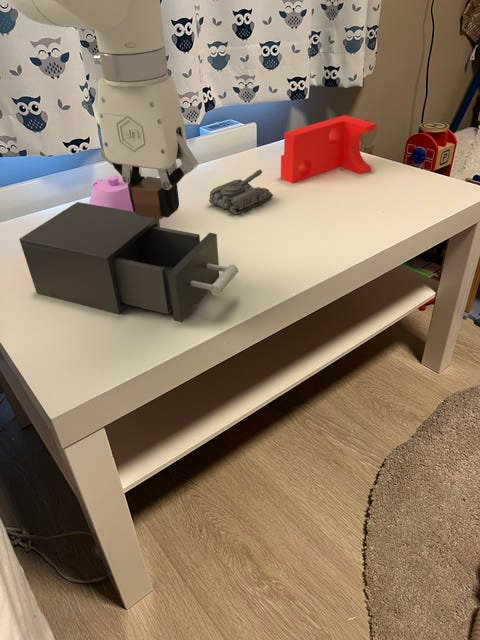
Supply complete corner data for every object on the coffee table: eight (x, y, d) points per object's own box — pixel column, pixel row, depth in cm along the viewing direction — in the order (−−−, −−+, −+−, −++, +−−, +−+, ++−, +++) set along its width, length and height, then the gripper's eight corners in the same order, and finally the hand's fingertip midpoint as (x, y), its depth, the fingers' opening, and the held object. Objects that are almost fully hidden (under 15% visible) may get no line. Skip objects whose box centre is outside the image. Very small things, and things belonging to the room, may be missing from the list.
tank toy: (245, 187, 113) (245, 163, 110) (278, 199, 107) (278, 175, 104) (203, 205, 106) (201, 180, 103) (235, 218, 101) (234, 193, 98)
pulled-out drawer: (247, 284, 81) (246, 239, 76) (212, 330, 72) (208, 282, 67) (141, 261, 87) (134, 218, 83) (96, 301, 78) (85, 255, 74)
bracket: (341, 114, 118) (376, 123, 112) (338, 158, 125) (370, 170, 118) (281, 131, 110) (314, 143, 103) (280, 178, 116) (312, 192, 110)
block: (161, 219, 70) (157, 191, 68) (135, 215, 71) (131, 187, 69) (175, 207, 73) (172, 179, 70) (151, 203, 74) (147, 176, 72)
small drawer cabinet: (166, 269, 87) (158, 216, 81) (119, 314, 77) (107, 257, 71) (89, 252, 92) (77, 201, 86) (36, 293, 82) (18, 238, 76)
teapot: (120, 205, 107) (112, 161, 102) (170, 225, 99) (165, 178, 94) (78, 224, 101) (67, 177, 96) (128, 247, 93) (119, 198, 88)
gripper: (56, 69, 61) (89, 213, 72) (182, 77, 55) (197, 232, 66) (95, 56, 66) (120, 192, 78) (213, 62, 61) (222, 208, 72)
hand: (155, 209), depth 72 cm, fingers closed on block, 4 cm apart
